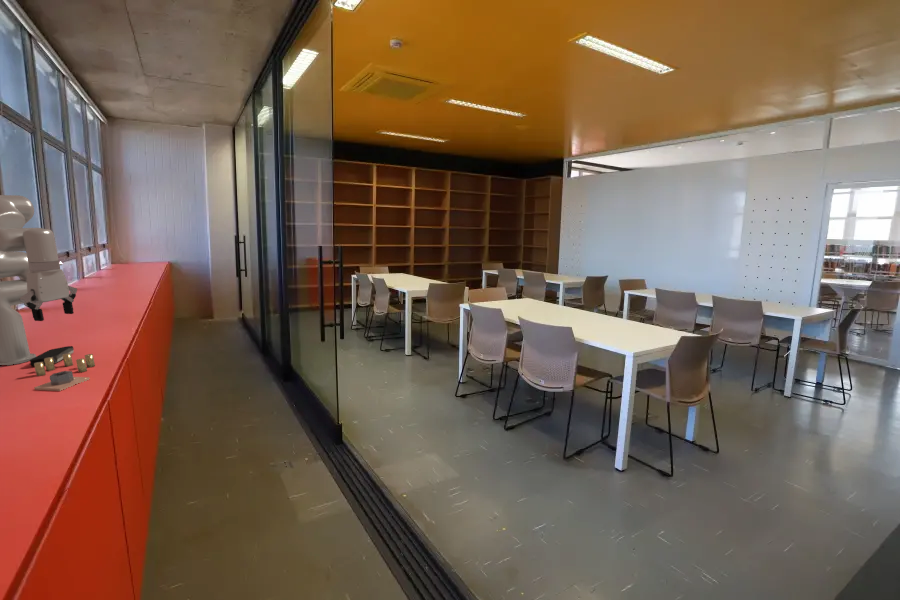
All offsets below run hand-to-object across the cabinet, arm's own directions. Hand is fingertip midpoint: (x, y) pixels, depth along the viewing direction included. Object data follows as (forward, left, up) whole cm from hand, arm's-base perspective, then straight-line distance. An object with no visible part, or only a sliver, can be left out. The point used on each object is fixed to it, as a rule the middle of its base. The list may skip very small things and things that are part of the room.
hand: (54, 317), depth 150 cm
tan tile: (+4, -5, -22) cm, 23 cm away
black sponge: (-27, +17, -23) cm, 39 cm away
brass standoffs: (-9, +7, -22) cm, 25 cm away
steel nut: (+4, -5, -21) cm, 22 cm away
